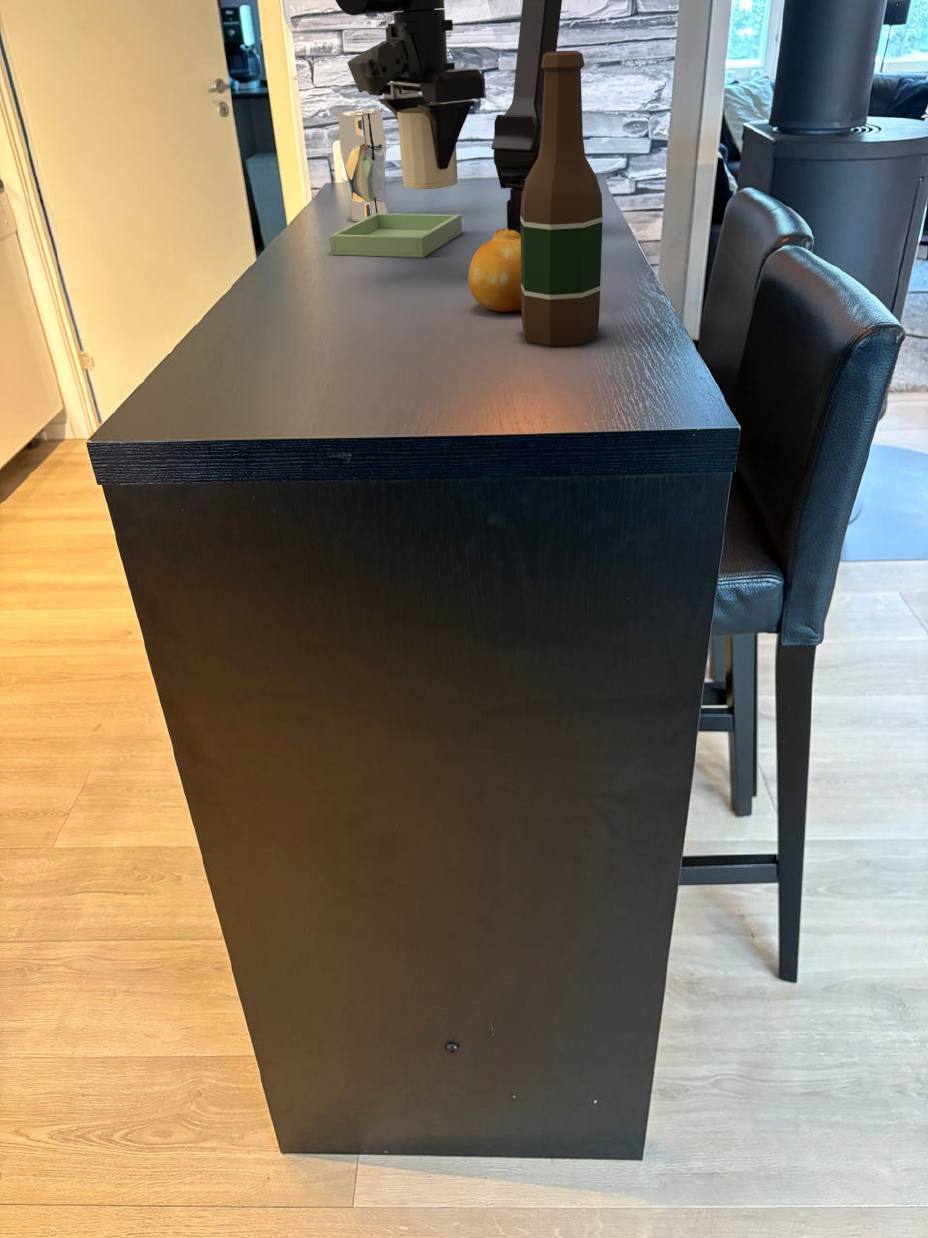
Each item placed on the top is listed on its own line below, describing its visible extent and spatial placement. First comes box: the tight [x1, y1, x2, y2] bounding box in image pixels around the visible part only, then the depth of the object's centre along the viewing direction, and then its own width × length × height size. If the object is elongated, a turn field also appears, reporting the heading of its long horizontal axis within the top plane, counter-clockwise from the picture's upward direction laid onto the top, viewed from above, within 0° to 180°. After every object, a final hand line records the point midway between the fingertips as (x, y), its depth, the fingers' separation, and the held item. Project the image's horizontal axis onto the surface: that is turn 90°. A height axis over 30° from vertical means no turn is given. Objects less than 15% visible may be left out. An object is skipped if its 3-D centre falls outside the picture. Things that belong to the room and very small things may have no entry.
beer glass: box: [337, 108, 390, 223], centre depth 144 cm, size 7×7×15 cm
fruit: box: [468, 227, 522, 313], centre depth 99 cm, size 8×8×8 cm
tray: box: [328, 213, 463, 259], centre depth 131 cm, size 14×16×2 cm
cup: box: [397, 107, 459, 190], centre depth 111 cm, size 7×7×8 cm
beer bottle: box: [520, 50, 604, 348], centre depth 85 cm, size 8×8×24 cm
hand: (429, 165), depth 112 cm, fingers closed on cup, 6 cm apart
